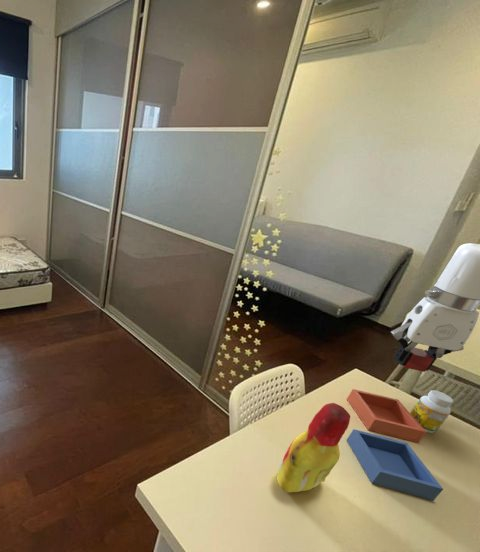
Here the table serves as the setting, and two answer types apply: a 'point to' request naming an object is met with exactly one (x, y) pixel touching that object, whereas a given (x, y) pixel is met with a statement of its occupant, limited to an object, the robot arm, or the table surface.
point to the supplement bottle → (432, 410)
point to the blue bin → (393, 465)
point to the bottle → (314, 450)
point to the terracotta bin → (385, 416)
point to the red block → (419, 360)
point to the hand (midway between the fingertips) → (410, 363)
